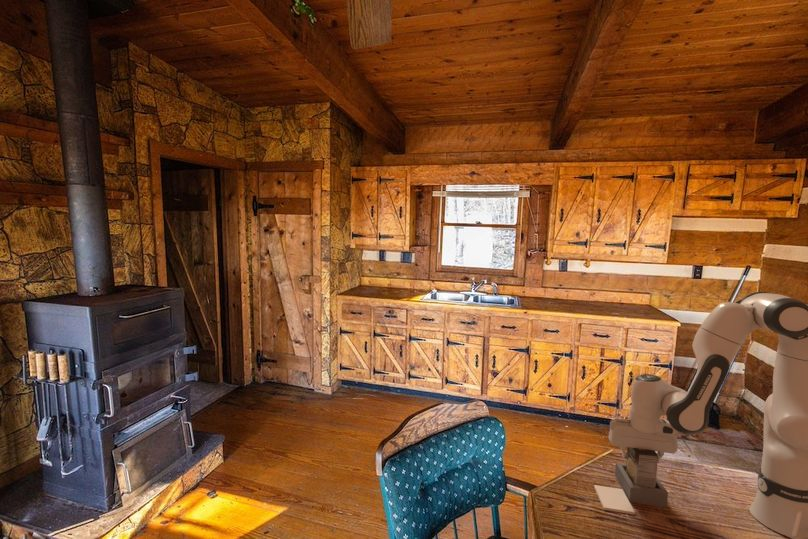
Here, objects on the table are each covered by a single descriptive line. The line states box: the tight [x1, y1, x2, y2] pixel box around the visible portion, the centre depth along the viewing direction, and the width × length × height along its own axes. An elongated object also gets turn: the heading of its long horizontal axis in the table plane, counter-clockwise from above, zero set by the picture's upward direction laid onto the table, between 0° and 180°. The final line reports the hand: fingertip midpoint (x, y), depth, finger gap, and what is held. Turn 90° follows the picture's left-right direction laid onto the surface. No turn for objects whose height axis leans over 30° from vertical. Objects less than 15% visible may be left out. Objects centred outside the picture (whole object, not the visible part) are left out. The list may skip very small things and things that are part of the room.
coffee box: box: [625, 447, 659, 488], centre depth 127 cm, size 9×6×16 cm
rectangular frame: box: [614, 461, 669, 508], centre depth 128 cm, size 11×14×5 cm
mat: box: [593, 484, 636, 516], centre depth 123 cm, size 9×11×1 cm
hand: (640, 459), depth 127 cm, fingers open, 8 cm apart
